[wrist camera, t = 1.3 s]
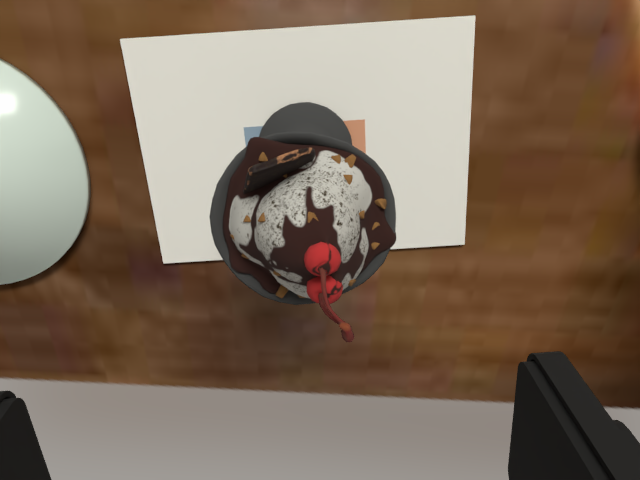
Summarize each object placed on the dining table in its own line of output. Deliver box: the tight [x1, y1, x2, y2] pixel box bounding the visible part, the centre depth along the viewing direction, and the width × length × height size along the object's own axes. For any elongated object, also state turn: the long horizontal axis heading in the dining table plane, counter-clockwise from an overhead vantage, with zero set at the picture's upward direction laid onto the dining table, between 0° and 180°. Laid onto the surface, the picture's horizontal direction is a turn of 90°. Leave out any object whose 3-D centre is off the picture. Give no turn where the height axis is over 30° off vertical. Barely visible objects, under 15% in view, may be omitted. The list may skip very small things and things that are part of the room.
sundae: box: [209, 102, 396, 342], centre depth 23 cm, size 7×7×15 cm
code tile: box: [120, 15, 475, 264], centre depth 30 cm, size 17×12×1 cm
